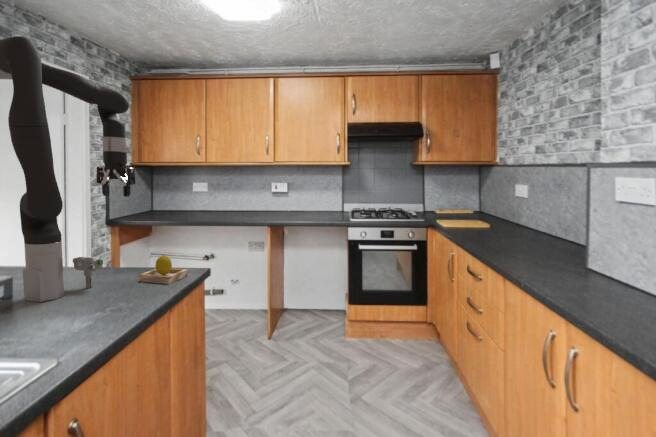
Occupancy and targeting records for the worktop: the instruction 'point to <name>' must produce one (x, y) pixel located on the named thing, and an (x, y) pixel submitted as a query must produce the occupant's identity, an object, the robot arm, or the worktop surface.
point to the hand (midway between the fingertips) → (116, 196)
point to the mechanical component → (87, 267)
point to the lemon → (163, 265)
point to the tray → (167, 279)
